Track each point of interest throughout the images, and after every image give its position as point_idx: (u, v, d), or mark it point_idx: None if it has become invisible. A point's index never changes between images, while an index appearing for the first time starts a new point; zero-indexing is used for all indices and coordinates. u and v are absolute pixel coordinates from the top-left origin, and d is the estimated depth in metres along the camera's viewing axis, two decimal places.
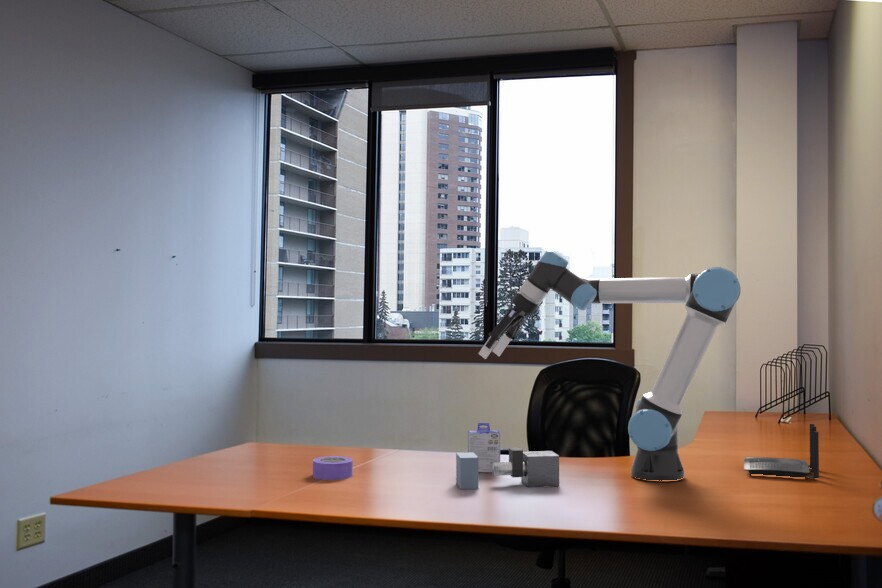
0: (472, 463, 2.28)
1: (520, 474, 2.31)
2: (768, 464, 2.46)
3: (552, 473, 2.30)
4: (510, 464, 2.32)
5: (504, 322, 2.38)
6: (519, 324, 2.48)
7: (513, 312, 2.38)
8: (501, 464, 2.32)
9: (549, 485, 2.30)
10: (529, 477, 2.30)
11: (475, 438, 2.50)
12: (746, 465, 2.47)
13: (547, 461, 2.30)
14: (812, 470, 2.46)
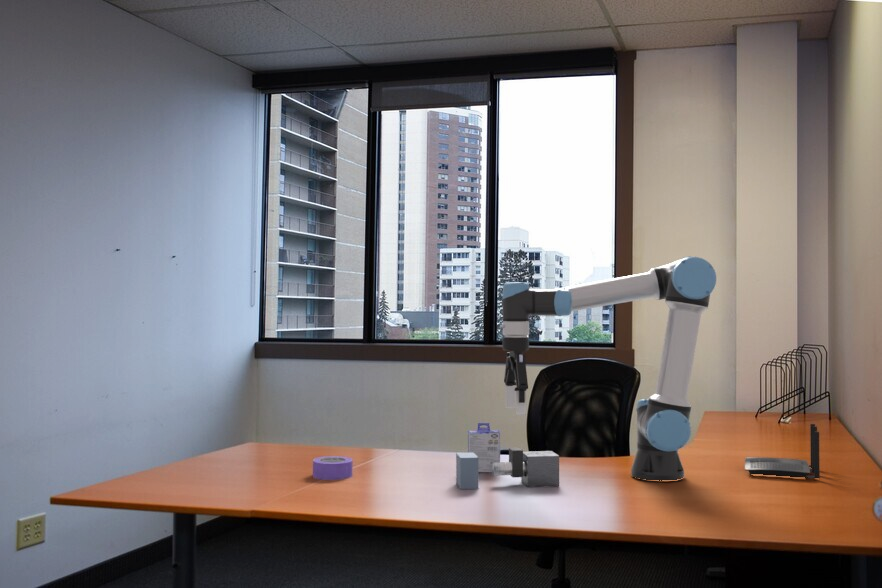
0: (472, 463, 2.28)
1: (520, 474, 2.31)
2: (769, 464, 2.46)
3: (552, 473, 2.30)
4: (510, 464, 2.32)
5: (522, 370, 2.26)
6: None
7: (521, 356, 2.27)
8: (501, 464, 2.32)
9: (549, 485, 2.30)
10: (529, 477, 2.30)
11: (475, 438, 2.50)
12: (747, 465, 2.47)
13: (547, 461, 2.30)
14: (813, 470, 2.46)
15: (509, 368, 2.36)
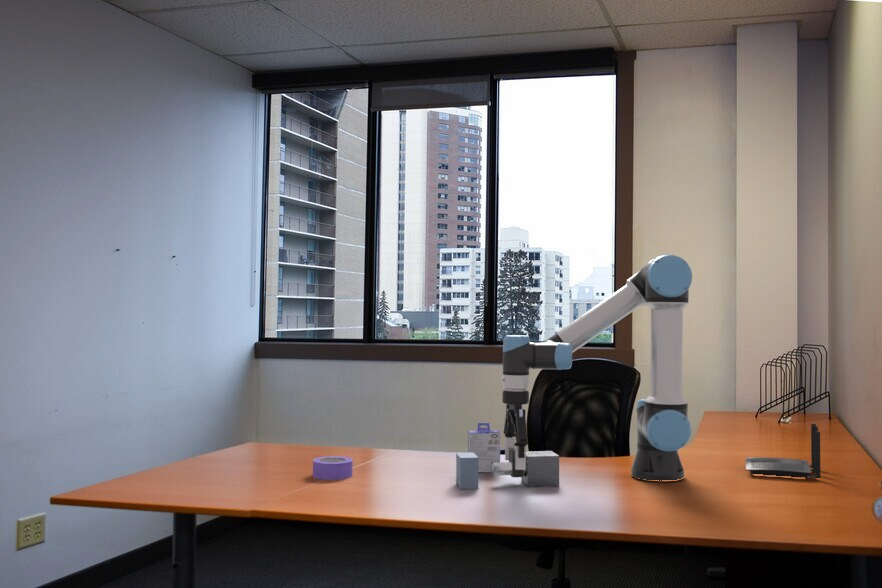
0: (472, 463, 2.28)
1: (520, 474, 2.31)
2: (770, 464, 2.45)
3: (552, 473, 2.30)
4: (510, 464, 2.32)
5: (522, 425, 2.25)
6: None
7: (521, 410, 2.27)
8: (501, 464, 2.32)
9: (549, 485, 2.30)
10: (529, 477, 2.30)
11: (475, 438, 2.50)
12: (748, 465, 2.47)
13: (547, 461, 2.30)
14: (814, 470, 2.46)
15: (509, 421, 2.36)
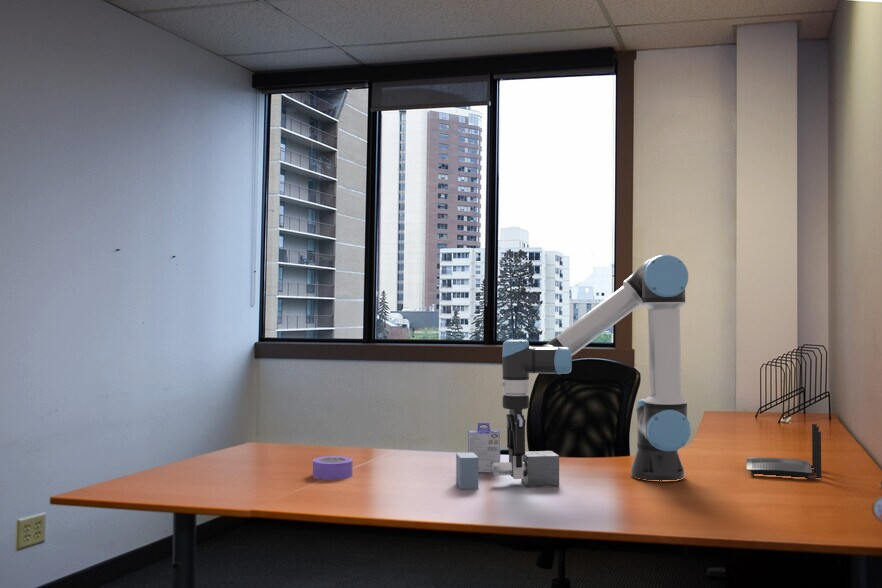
0: (472, 463, 2.28)
1: None
2: (770, 464, 2.45)
3: (552, 473, 2.30)
4: (510, 464, 2.32)
5: (520, 436, 2.27)
6: None
7: (521, 421, 2.27)
8: (501, 464, 2.32)
9: (549, 485, 2.30)
10: (529, 477, 2.30)
11: (475, 438, 2.50)
12: (748, 465, 2.47)
13: (547, 461, 2.30)
14: (814, 470, 2.46)
15: (510, 428, 2.35)
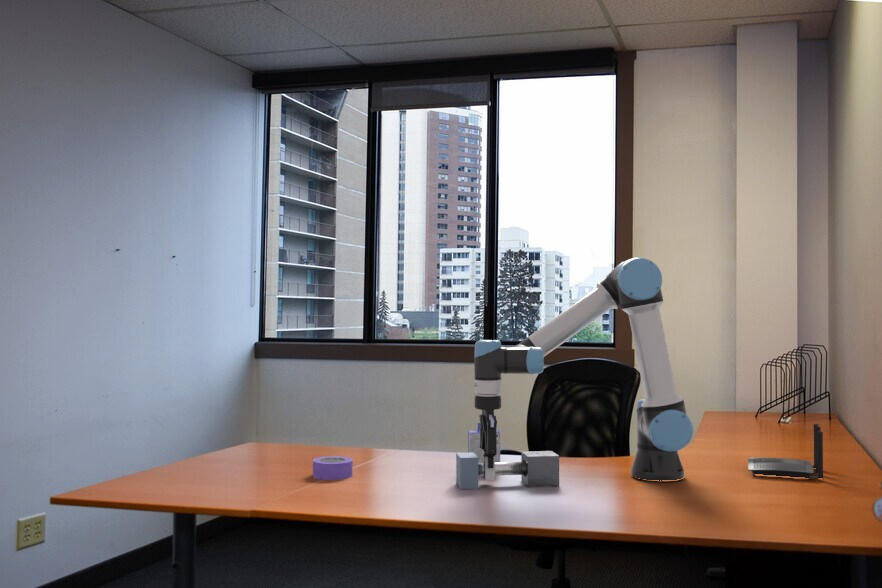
0: (472, 463, 2.28)
1: None
2: (772, 464, 2.45)
3: (552, 473, 2.30)
4: (482, 465, 2.31)
5: (492, 436, 2.26)
6: None
7: (493, 422, 2.26)
8: None
9: (549, 485, 2.30)
10: (529, 477, 2.30)
11: (475, 438, 2.50)
12: (750, 465, 2.47)
13: (547, 461, 2.30)
14: (816, 470, 2.45)
15: (483, 428, 2.34)
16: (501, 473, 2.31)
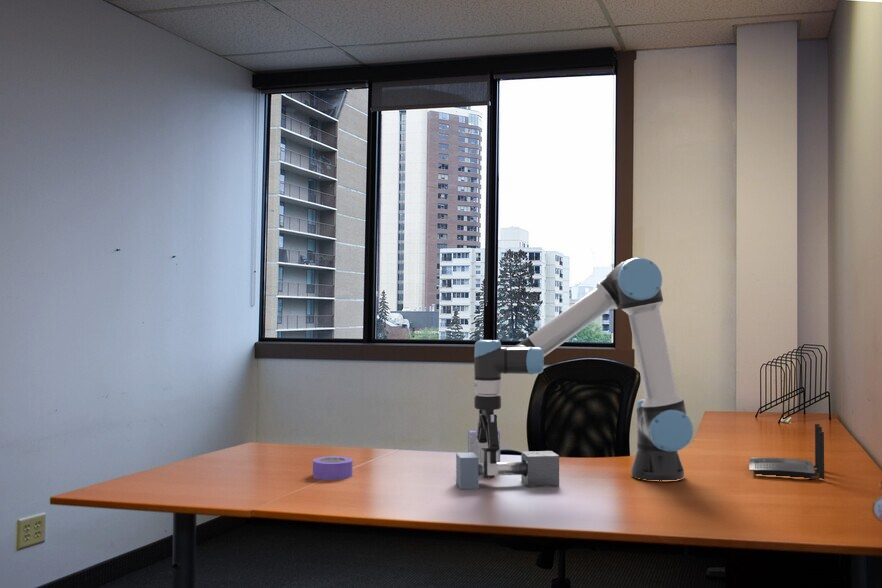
0: (472, 463, 2.28)
1: (492, 475, 2.30)
2: (773, 464, 2.45)
3: (552, 473, 2.30)
4: (482, 465, 2.31)
5: (493, 430, 2.24)
6: None
7: (493, 416, 2.26)
8: None
9: (549, 485, 2.30)
10: (529, 477, 2.30)
11: (475, 438, 2.50)
12: (751, 465, 2.47)
13: (547, 461, 2.30)
14: (817, 470, 2.45)
15: (481, 426, 2.35)
16: (501, 473, 2.31)
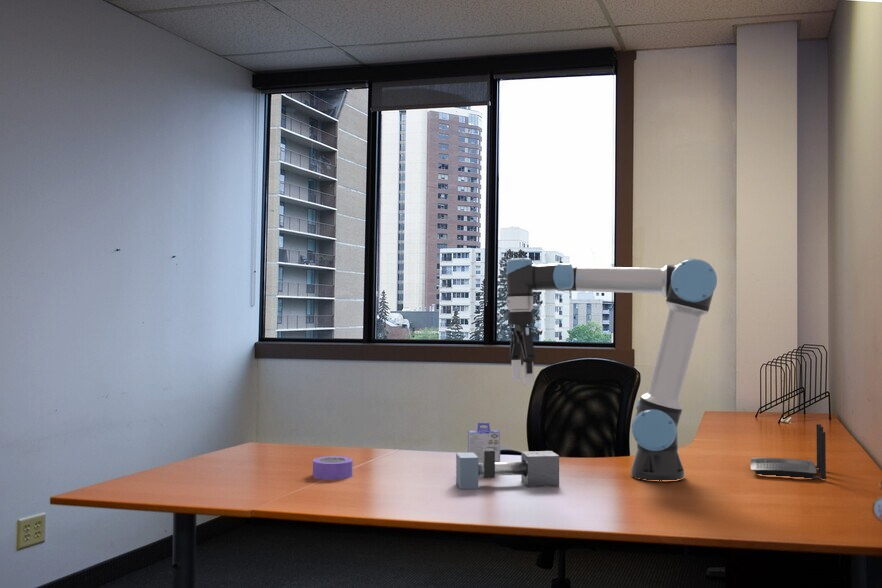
0: (472, 463, 2.28)
1: (492, 475, 2.30)
2: (775, 464, 2.45)
3: (552, 473, 2.30)
4: (482, 465, 2.31)
5: (529, 342, 2.34)
6: None
7: (527, 328, 2.36)
8: None
9: (549, 485, 2.30)
10: (529, 477, 2.30)
11: (475, 438, 2.50)
12: (753, 465, 2.47)
13: (547, 461, 2.30)
14: (819, 470, 2.45)
15: (515, 342, 2.45)
16: (501, 473, 2.31)
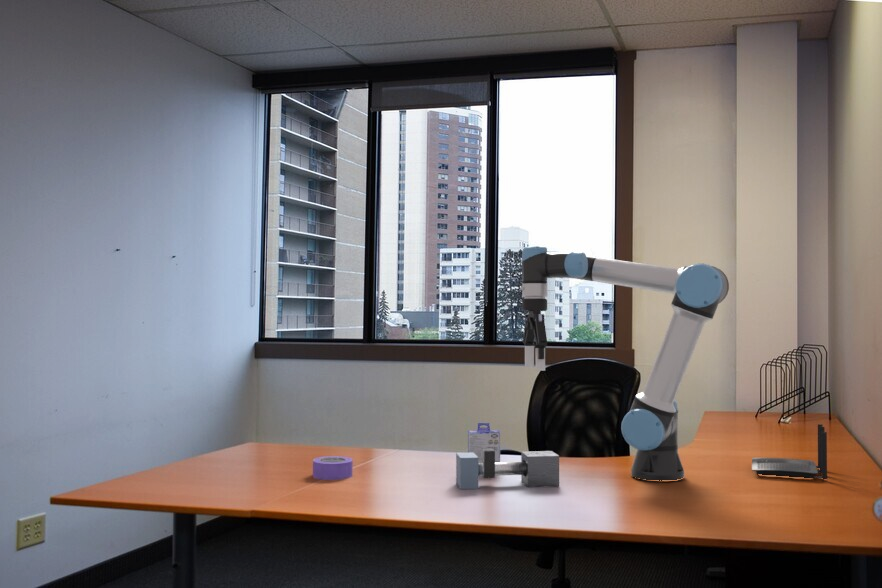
0: (472, 463, 2.28)
1: (492, 475, 2.30)
2: (776, 465, 2.45)
3: (552, 473, 2.30)
4: (482, 465, 2.31)
5: (541, 328, 2.39)
6: None
7: (540, 315, 2.40)
8: None
9: (549, 485, 2.30)
10: (529, 477, 2.30)
11: (475, 438, 2.50)
12: (754, 465, 2.46)
13: (547, 461, 2.30)
14: (820, 471, 2.45)
15: (528, 328, 2.50)
16: (501, 473, 2.31)
